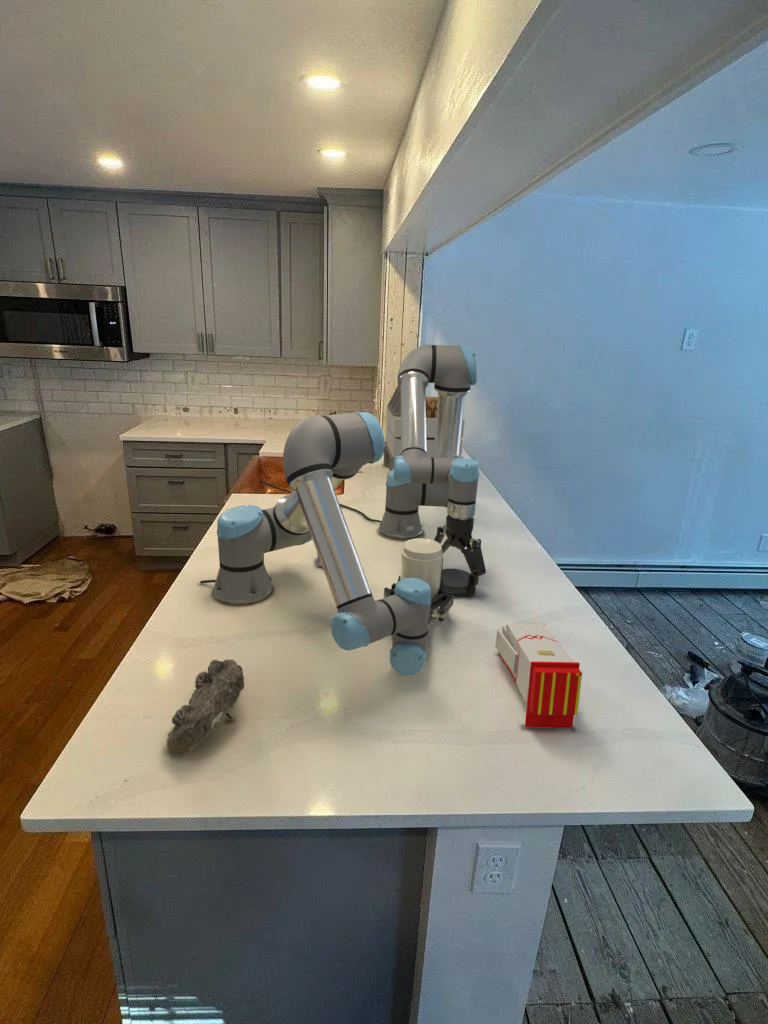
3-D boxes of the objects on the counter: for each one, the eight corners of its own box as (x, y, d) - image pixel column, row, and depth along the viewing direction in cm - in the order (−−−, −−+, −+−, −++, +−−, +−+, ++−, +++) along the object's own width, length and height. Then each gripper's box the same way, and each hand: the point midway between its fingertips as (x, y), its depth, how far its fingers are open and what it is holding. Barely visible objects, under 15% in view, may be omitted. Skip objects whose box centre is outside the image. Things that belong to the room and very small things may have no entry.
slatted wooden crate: (382, 463, 289) (386, 382, 275) (445, 464, 293) (451, 384, 279) (390, 482, 257) (394, 392, 243) (460, 483, 261) (468, 394, 247)
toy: (542, 608, 134) (591, 669, 104) (537, 660, 136) (583, 734, 107) (491, 607, 133) (526, 668, 104) (487, 660, 136) (520, 733, 107)
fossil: (192, 660, 117) (244, 628, 112) (224, 691, 120) (276, 661, 115) (142, 746, 98) (202, 712, 93) (182, 779, 101) (242, 748, 96)
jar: (410, 597, 156) (415, 534, 150) (444, 608, 151) (450, 544, 145) (391, 612, 148) (394, 546, 142) (426, 625, 143) (431, 557, 137)
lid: (477, 594, 156) (478, 587, 156) (435, 592, 156) (435, 586, 156) (471, 575, 167) (472, 569, 167) (432, 574, 167) (432, 567, 167)
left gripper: (363, 633, 133) (377, 590, 154) (461, 644, 131) (462, 599, 151) (364, 605, 131) (379, 565, 152) (464, 616, 128) (465, 574, 149)
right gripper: (419, 506, 160) (414, 576, 168) (487, 531, 144) (479, 607, 152) (436, 501, 165) (431, 569, 173) (505, 525, 149) (495, 598, 157)
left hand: (420, 582), depth 151 cm, fingers closed on jar, 10 cm apart
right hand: (453, 586), depth 162 cm, fingers closed on lid, 12 cm apart
